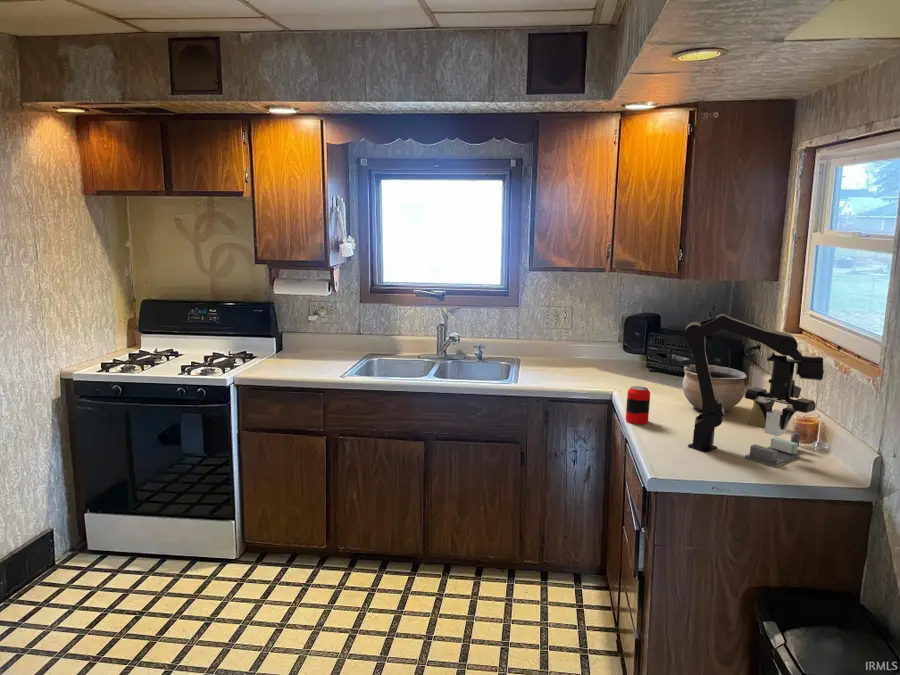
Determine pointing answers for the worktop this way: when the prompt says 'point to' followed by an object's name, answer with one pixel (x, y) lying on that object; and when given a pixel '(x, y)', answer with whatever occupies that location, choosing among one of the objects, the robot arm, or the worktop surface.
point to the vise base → (769, 456)
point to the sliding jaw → (786, 443)
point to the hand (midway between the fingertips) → (776, 427)
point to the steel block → (774, 423)
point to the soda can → (637, 405)
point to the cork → (757, 416)
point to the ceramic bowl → (715, 386)
